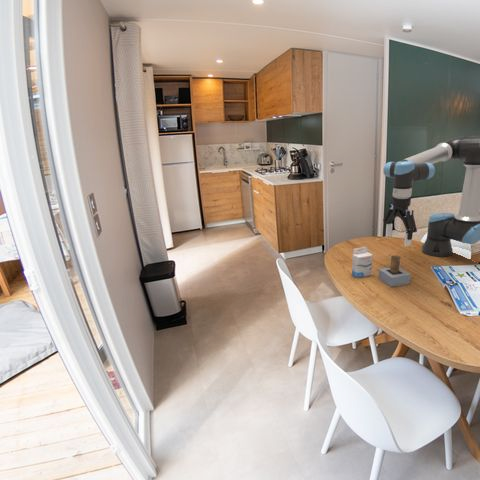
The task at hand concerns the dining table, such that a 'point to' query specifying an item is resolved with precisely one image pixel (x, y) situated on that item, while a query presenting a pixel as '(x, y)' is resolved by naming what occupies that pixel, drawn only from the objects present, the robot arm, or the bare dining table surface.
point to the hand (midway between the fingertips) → (397, 240)
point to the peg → (395, 264)
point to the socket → (394, 277)
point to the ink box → (361, 262)
